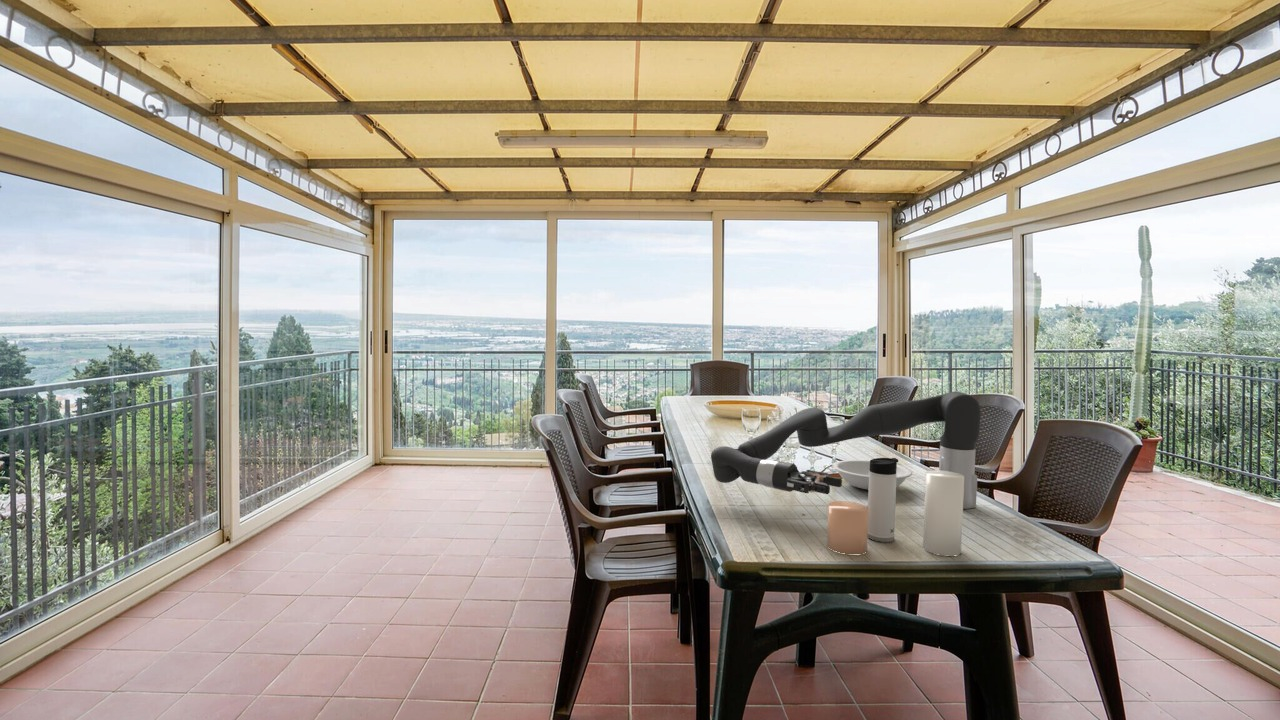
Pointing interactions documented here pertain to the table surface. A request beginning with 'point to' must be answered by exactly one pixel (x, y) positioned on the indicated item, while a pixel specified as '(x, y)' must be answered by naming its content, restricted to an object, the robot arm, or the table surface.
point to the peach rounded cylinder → (847, 527)
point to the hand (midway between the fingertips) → (835, 486)
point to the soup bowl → (864, 472)
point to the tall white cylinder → (943, 512)
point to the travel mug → (882, 499)
